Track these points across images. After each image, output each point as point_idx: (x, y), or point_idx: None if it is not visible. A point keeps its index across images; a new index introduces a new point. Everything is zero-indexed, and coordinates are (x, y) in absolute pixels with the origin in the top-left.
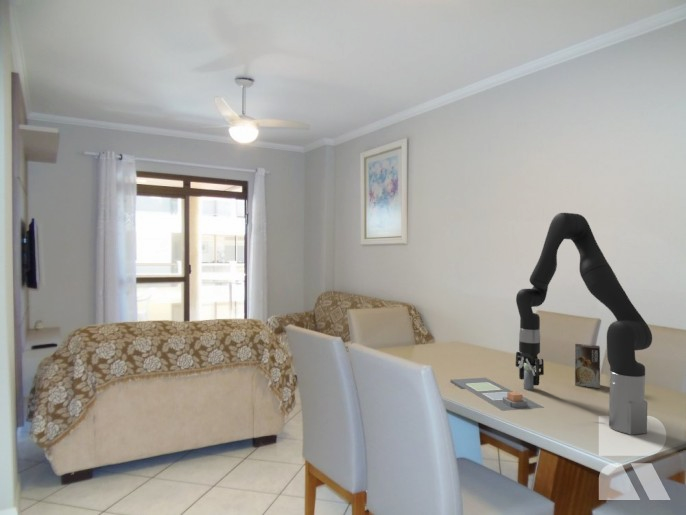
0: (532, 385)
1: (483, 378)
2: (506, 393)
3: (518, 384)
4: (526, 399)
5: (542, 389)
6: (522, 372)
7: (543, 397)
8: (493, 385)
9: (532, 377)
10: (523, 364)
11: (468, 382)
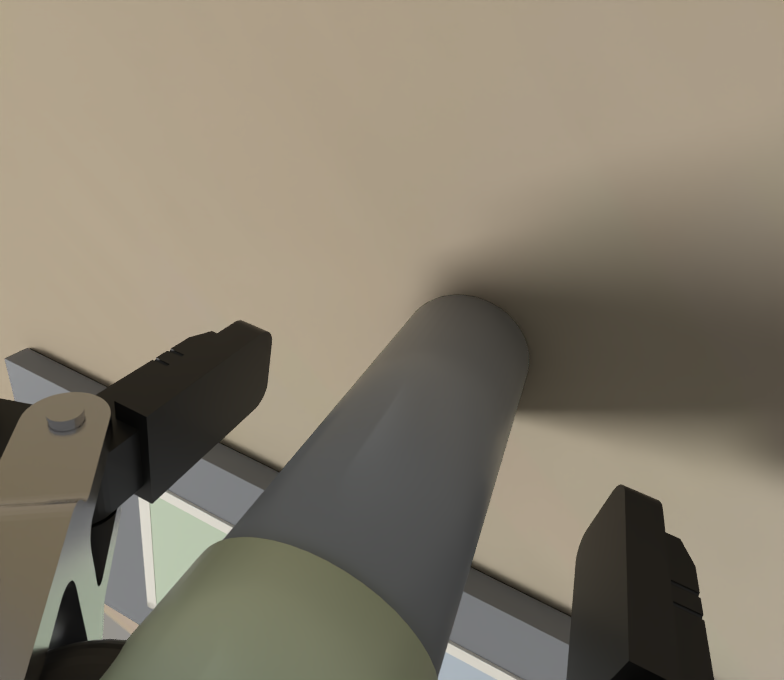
0: (509, 430)
1: (29, 396)
2: (456, 666)
3: (186, 186)
4: None
5: (498, 58)
6: (187, 439)
7: (770, 442)
8: (226, 529)
9: (478, 539)
10: (70, 637)
11: (121, 564)
